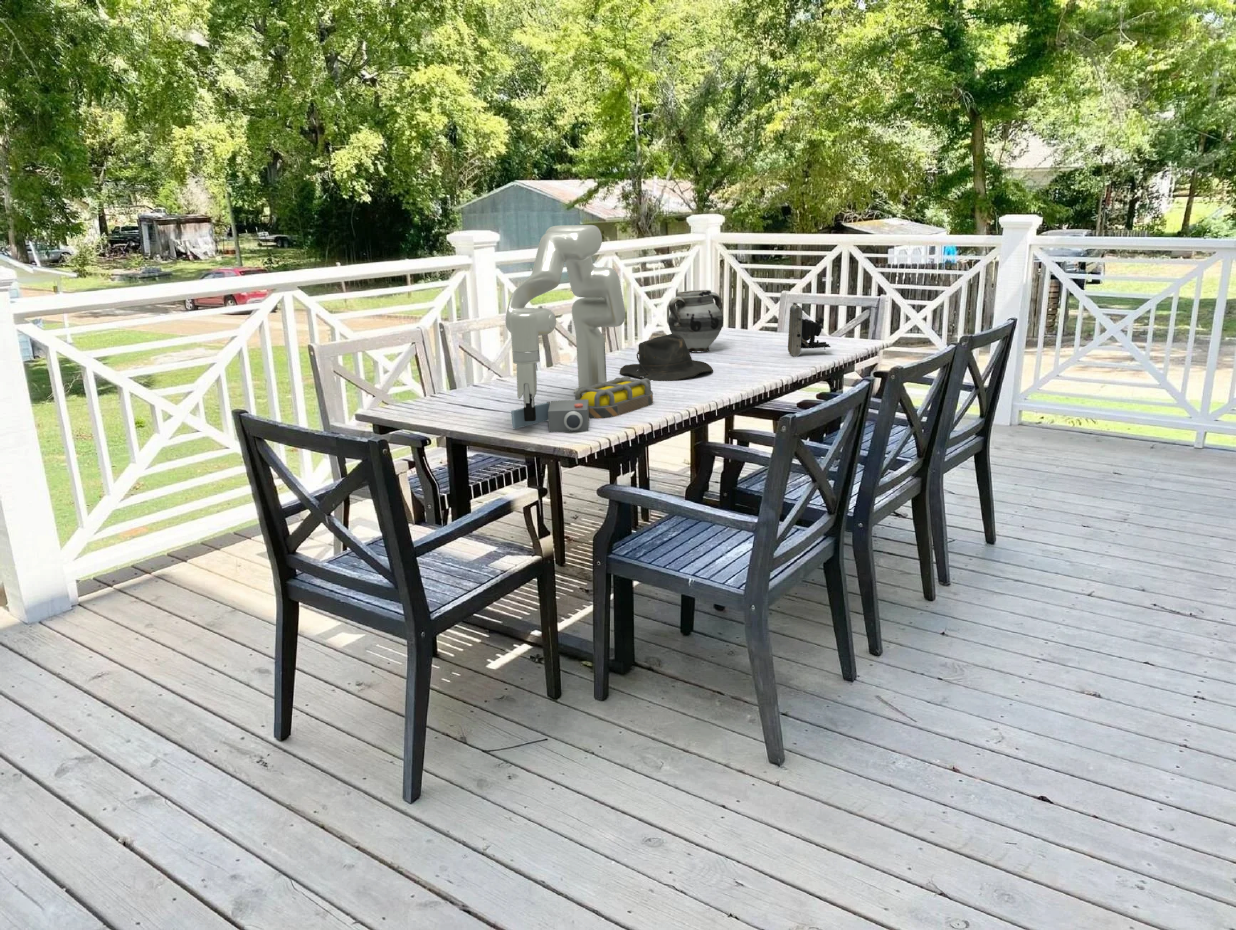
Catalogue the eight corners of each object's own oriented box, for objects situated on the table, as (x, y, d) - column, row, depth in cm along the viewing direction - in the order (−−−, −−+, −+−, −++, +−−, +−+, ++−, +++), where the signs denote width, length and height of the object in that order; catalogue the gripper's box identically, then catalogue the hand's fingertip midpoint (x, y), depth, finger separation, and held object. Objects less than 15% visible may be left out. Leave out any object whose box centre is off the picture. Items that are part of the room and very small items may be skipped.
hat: (669, 385, 320) (668, 344, 316) (603, 374, 346) (601, 335, 342) (731, 372, 340) (731, 333, 336) (665, 362, 366) (664, 326, 362)
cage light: (563, 390, 279) (625, 373, 301) (565, 416, 281) (625, 397, 303) (601, 394, 270) (661, 377, 292) (602, 421, 272) (662, 402, 294)
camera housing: (552, 420, 274) (550, 398, 272) (589, 419, 274) (588, 396, 272) (548, 433, 259) (547, 409, 257) (588, 432, 259) (587, 408, 257)
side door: (549, 419, 275) (548, 401, 273) (551, 419, 274) (550, 401, 273) (512, 428, 265) (511, 410, 264) (515, 429, 264) (513, 410, 263)
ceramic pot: (689, 358, 370) (688, 295, 363) (652, 352, 388) (650, 292, 381) (740, 349, 387) (739, 288, 381) (702, 344, 405) (701, 286, 398)
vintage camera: (830, 357, 363) (833, 305, 358) (791, 357, 364) (793, 305, 358) (825, 353, 373) (828, 303, 368) (787, 353, 373) (789, 303, 368)
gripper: (515, 353, 266) (519, 415, 271) (510, 361, 252) (514, 427, 257) (541, 352, 266) (545, 414, 271) (537, 360, 252) (541, 426, 257)
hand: (530, 420), depth 264 cm, fingers closed
